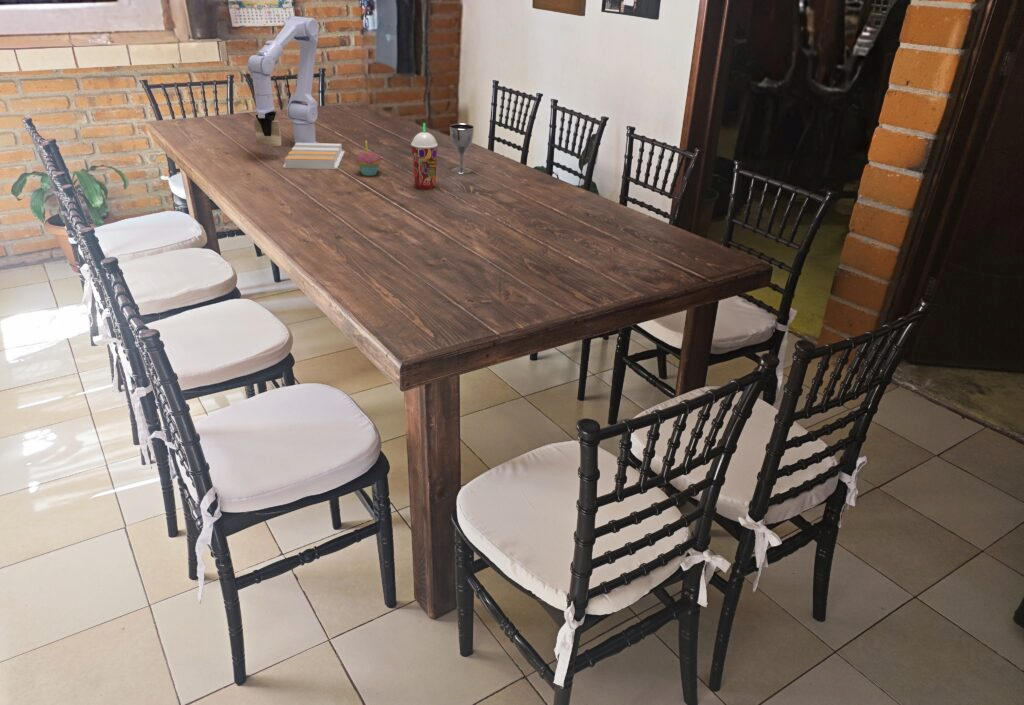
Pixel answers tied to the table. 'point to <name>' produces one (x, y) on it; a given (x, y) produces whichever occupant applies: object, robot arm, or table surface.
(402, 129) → the table surface
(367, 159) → the cupcake
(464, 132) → the wine glass
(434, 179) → the smoothie
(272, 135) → the block
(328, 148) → the rack
